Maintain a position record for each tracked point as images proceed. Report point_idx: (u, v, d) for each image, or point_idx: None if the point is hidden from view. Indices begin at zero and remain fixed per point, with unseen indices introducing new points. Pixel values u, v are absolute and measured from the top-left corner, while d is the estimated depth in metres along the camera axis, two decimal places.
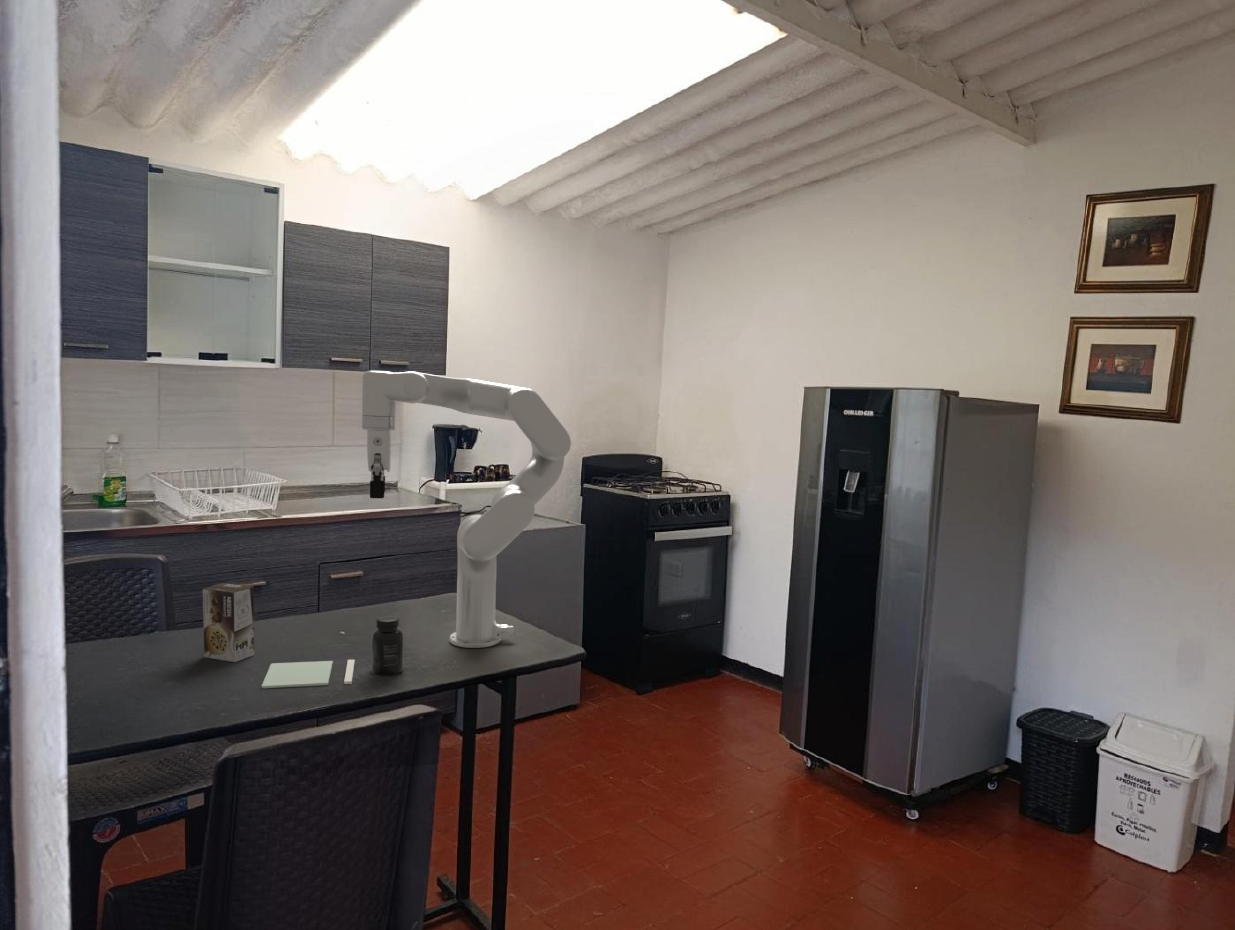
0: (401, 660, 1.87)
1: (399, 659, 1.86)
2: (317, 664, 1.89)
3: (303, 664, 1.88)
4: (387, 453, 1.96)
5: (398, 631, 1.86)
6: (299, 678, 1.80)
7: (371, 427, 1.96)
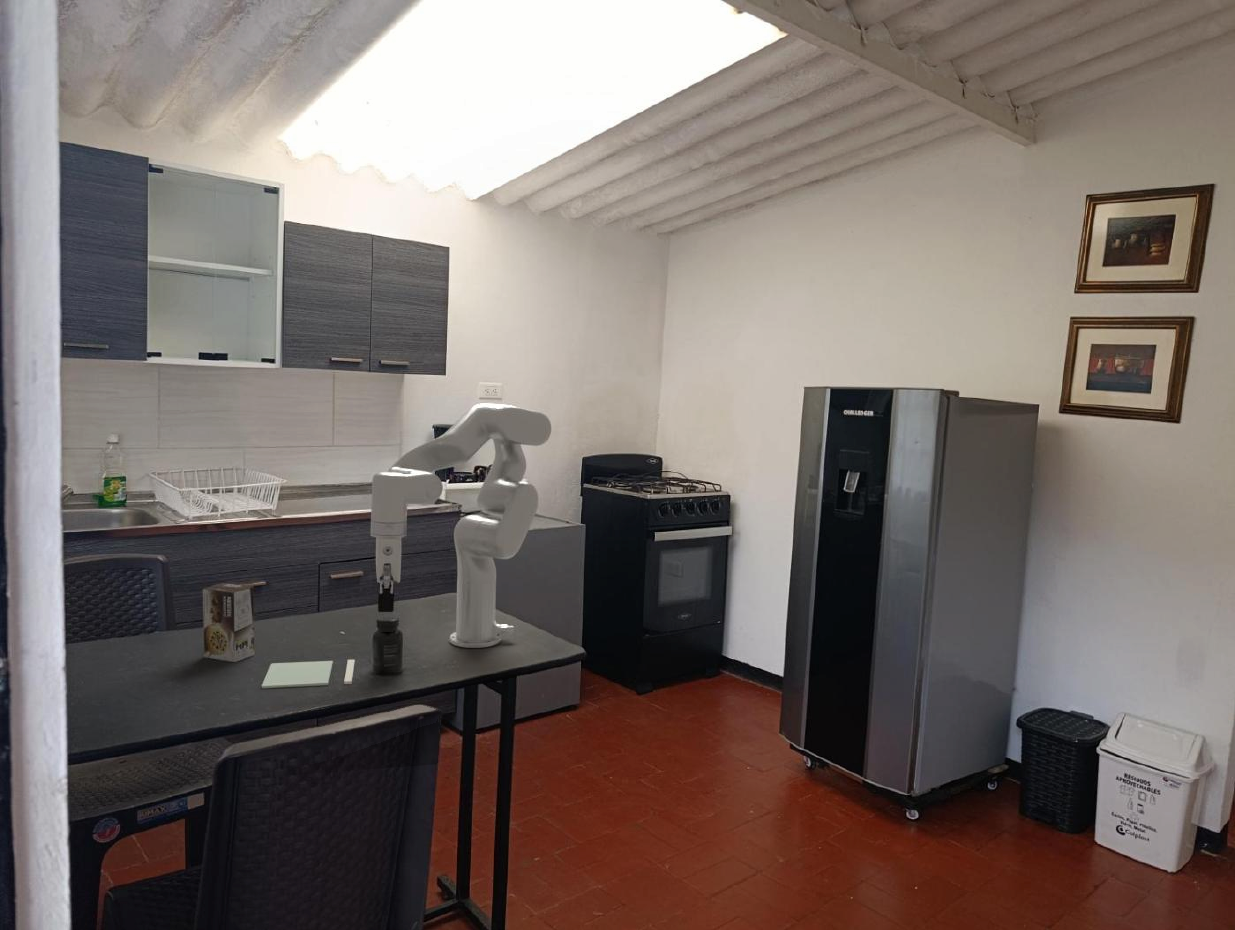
0: (401, 660, 1.87)
1: (399, 659, 1.86)
2: (317, 664, 1.89)
3: (303, 664, 1.88)
4: (398, 563, 1.81)
5: (398, 631, 1.86)
6: (299, 678, 1.80)
7: (381, 535, 1.81)
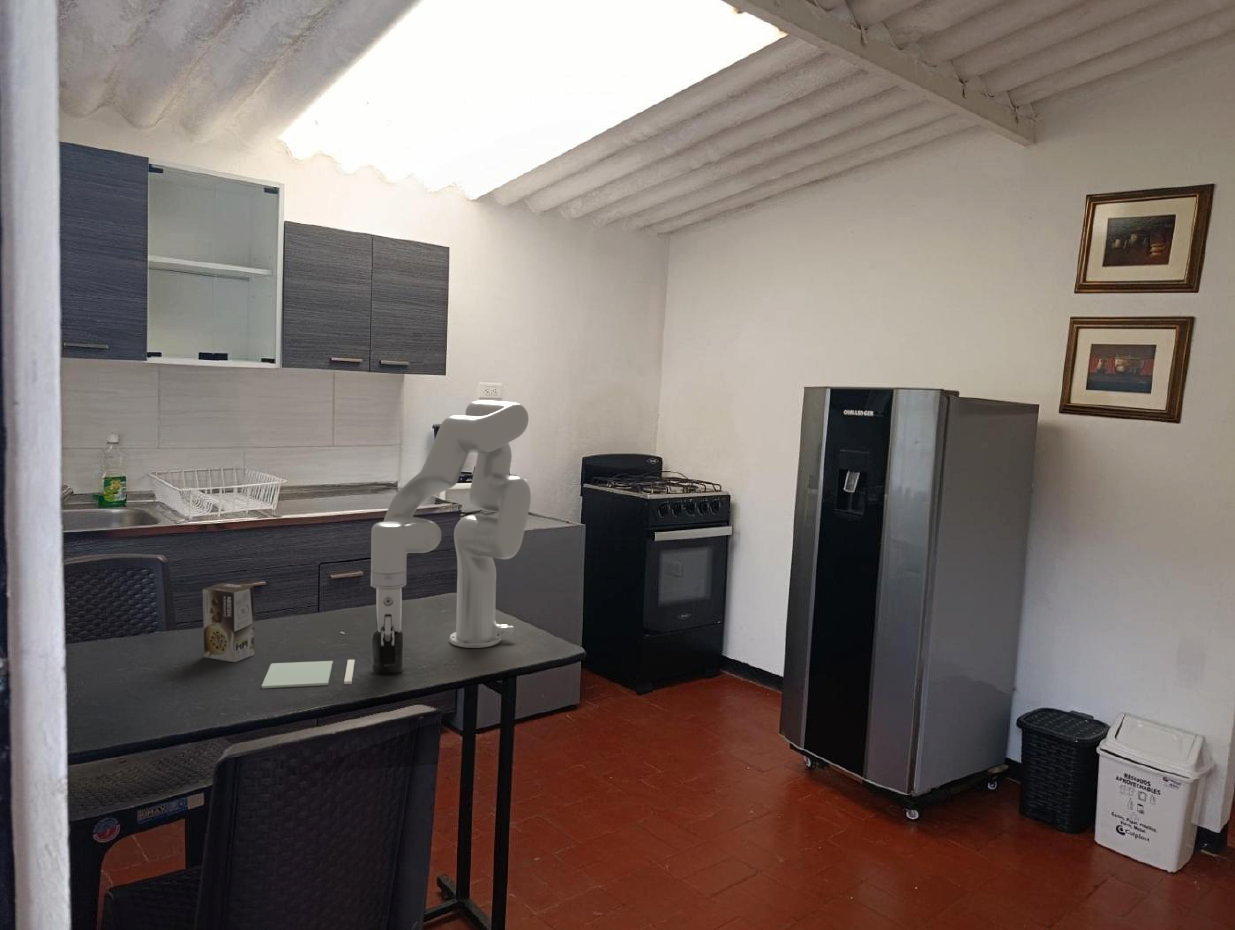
0: (401, 660, 1.87)
1: (399, 659, 1.86)
2: (317, 664, 1.89)
3: (303, 664, 1.88)
4: (398, 613, 1.82)
5: None
6: (299, 678, 1.80)
7: (381, 586, 1.82)
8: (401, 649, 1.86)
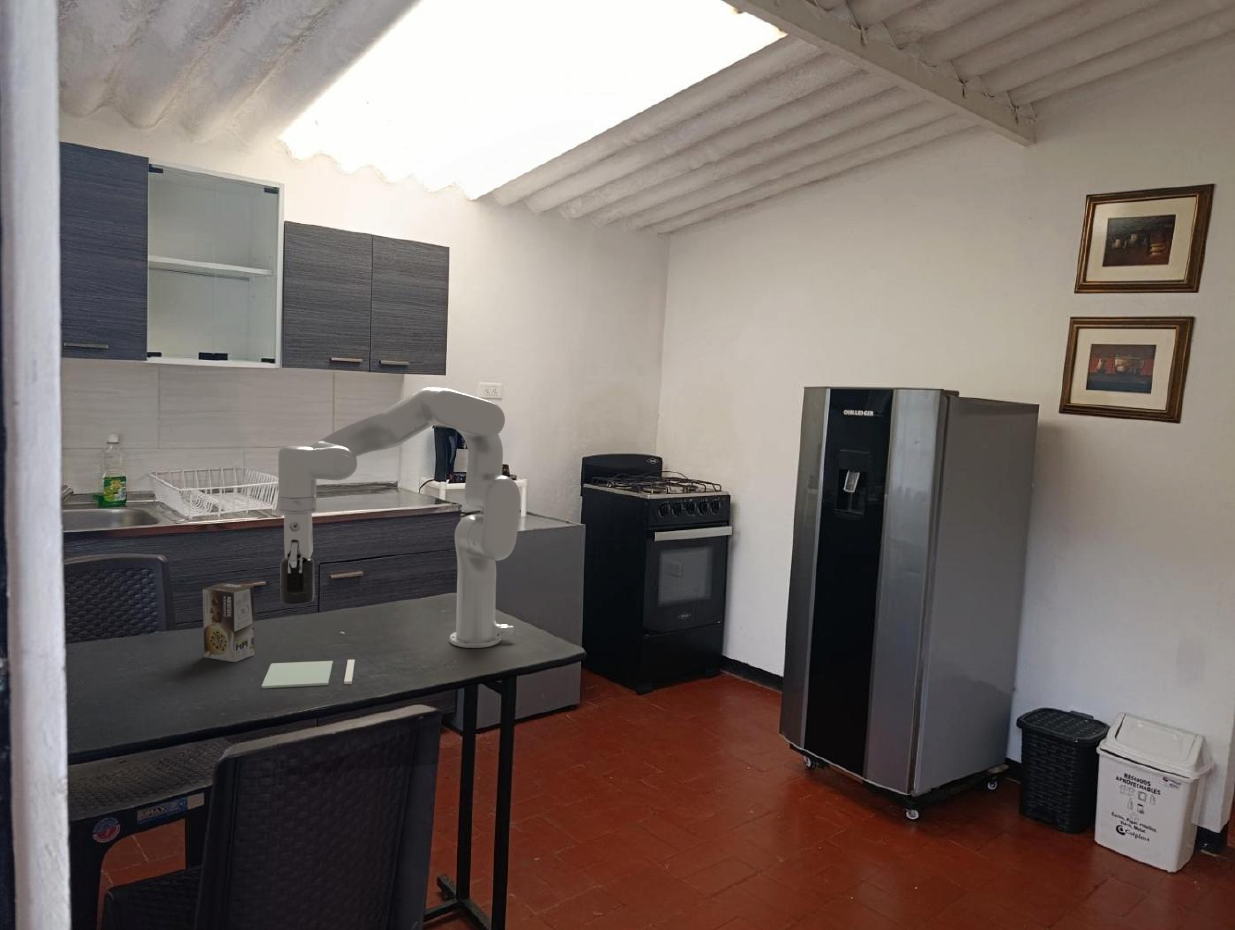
0: (311, 589, 1.80)
1: (308, 588, 1.79)
2: (317, 664, 1.89)
3: (303, 664, 1.88)
4: (306, 539, 1.76)
5: (308, 559, 1.80)
6: (299, 678, 1.80)
7: (288, 510, 1.76)
8: (311, 578, 1.80)
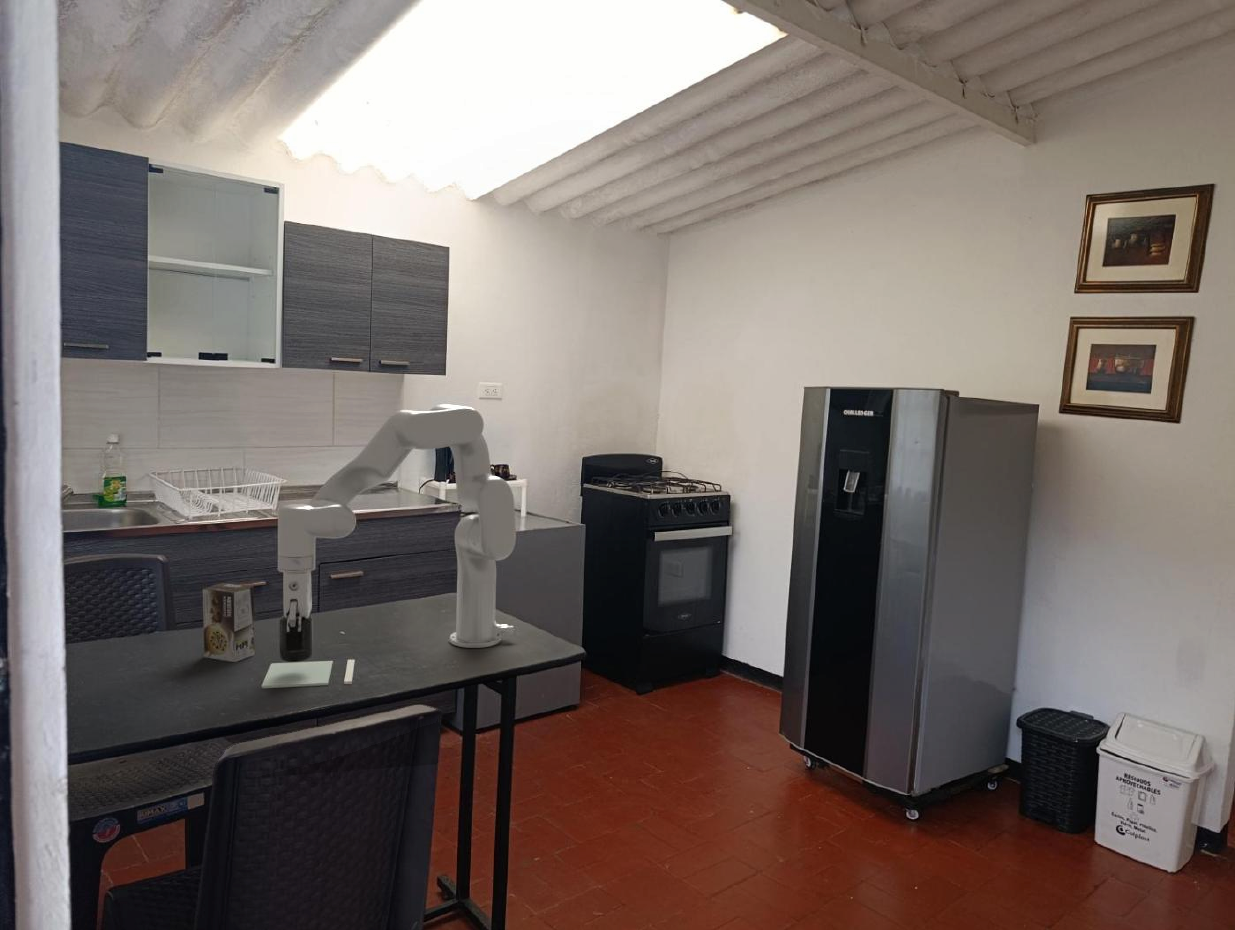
0: (310, 646, 1.81)
1: (307, 646, 1.81)
2: (317, 664, 1.89)
3: (303, 664, 1.88)
4: (305, 598, 1.77)
5: None
6: (299, 678, 1.80)
7: (287, 570, 1.77)
8: (309, 635, 1.81)
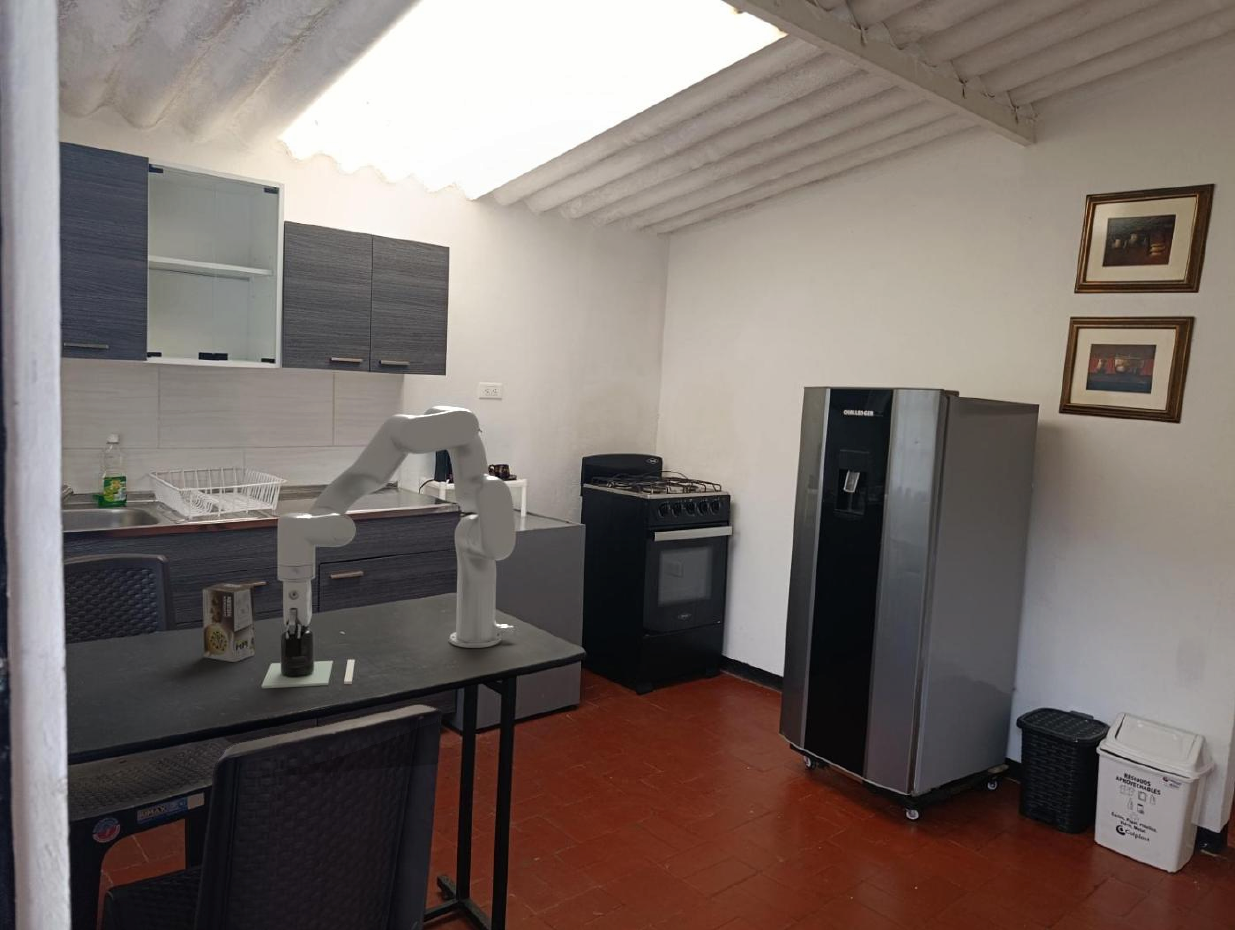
0: (311, 661, 1.82)
1: (308, 661, 1.81)
2: (317, 664, 1.89)
3: None
4: (305, 607, 1.77)
5: (308, 632, 1.81)
6: (299, 678, 1.80)
7: (287, 578, 1.77)
8: (311, 650, 1.82)
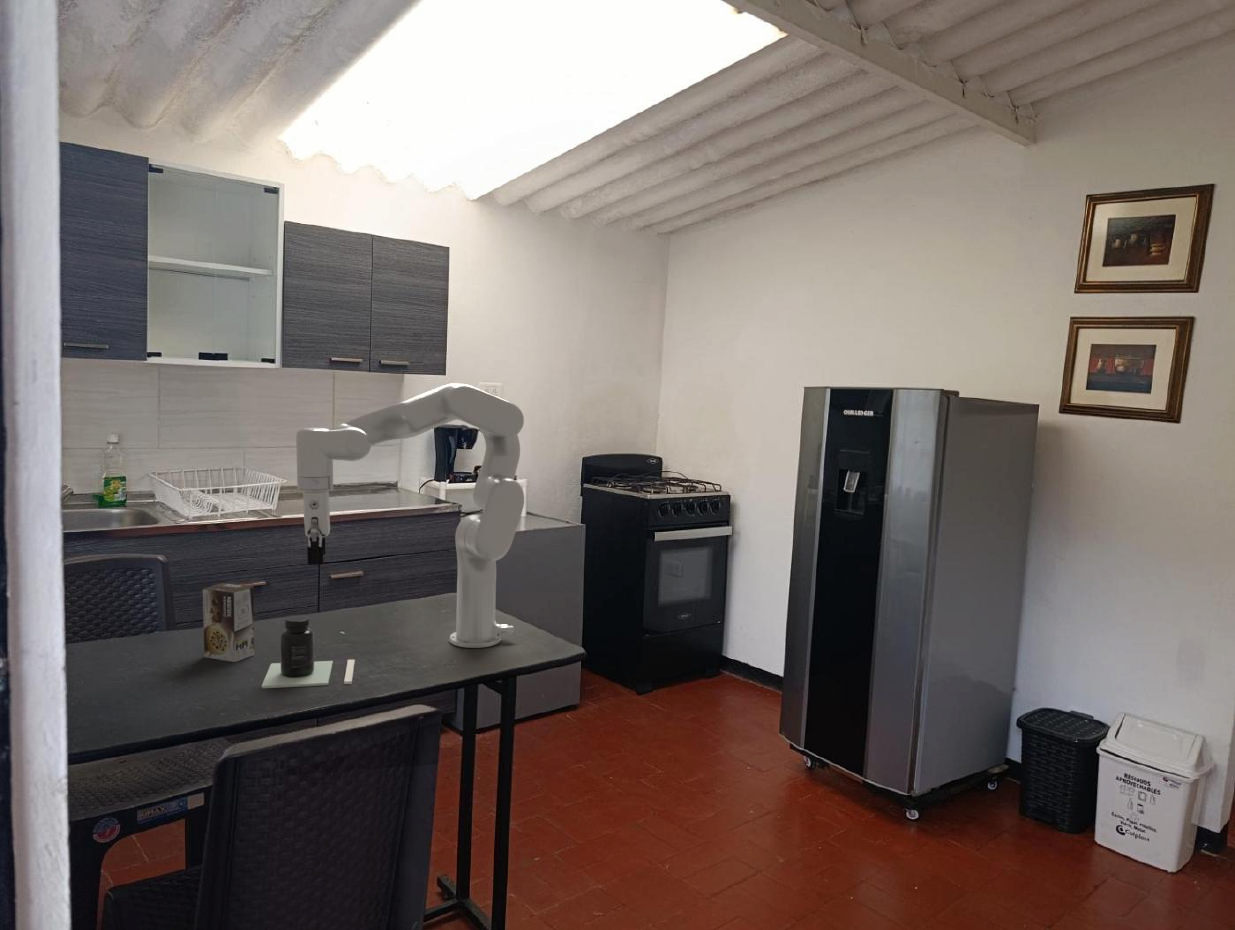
0: (311, 661, 1.82)
1: (308, 661, 1.81)
2: (317, 664, 1.89)
3: None
4: (325, 516, 1.84)
5: (308, 632, 1.81)
6: (299, 678, 1.80)
7: (307, 489, 1.84)
8: (311, 650, 1.82)
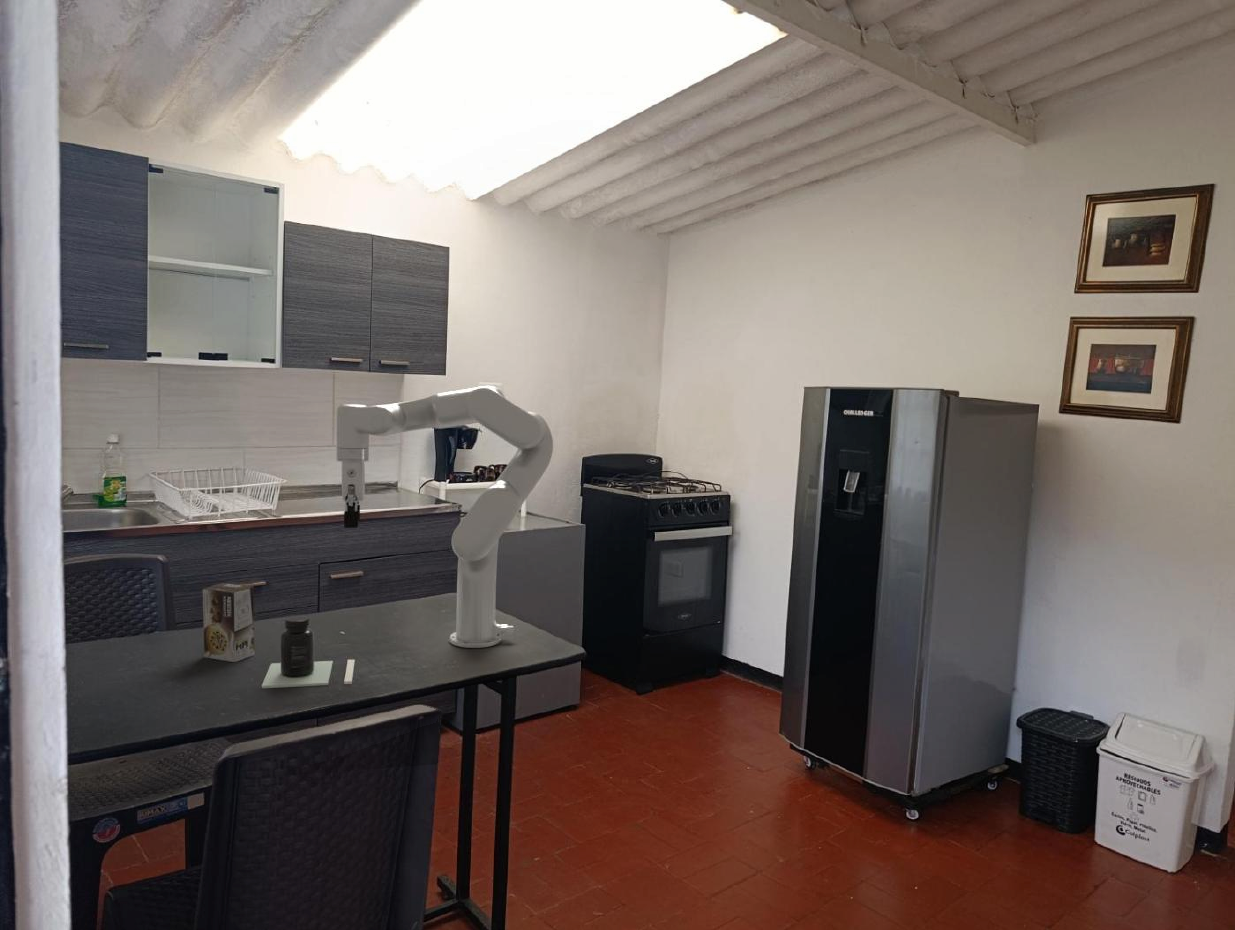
0: (311, 661, 1.82)
1: (308, 661, 1.81)
2: (317, 664, 1.89)
3: None
4: (361, 484, 2.03)
5: (308, 632, 1.81)
6: (299, 678, 1.80)
7: (345, 459, 2.03)
8: (311, 650, 1.82)
